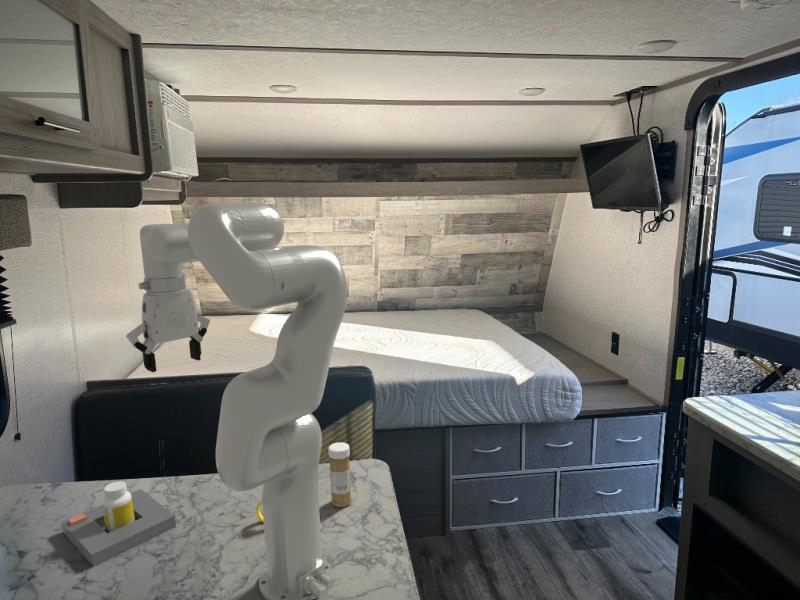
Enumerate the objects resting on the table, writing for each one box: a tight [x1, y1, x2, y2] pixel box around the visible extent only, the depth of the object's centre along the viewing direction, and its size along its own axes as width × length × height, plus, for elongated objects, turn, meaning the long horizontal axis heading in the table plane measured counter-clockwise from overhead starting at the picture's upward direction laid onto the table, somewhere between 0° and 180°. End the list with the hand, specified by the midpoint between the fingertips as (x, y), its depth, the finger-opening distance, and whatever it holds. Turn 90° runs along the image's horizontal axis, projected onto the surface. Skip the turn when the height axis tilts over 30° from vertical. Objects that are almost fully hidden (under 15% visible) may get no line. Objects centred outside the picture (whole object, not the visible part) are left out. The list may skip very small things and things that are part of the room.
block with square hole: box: [61, 488, 177, 567], centre depth 112 cm, size 16×16×3 cm
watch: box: [256, 499, 264, 523], centre depth 114 cm, size 6×3×6 cm, turn 92°
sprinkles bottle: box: [327, 442, 352, 508], centre depth 119 cm, size 5×5×13 cm
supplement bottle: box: [101, 480, 136, 533], centre depth 111 cm, size 5×5×10 cm
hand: (174, 364), depth 115 cm, fingers open, 9 cm apart
